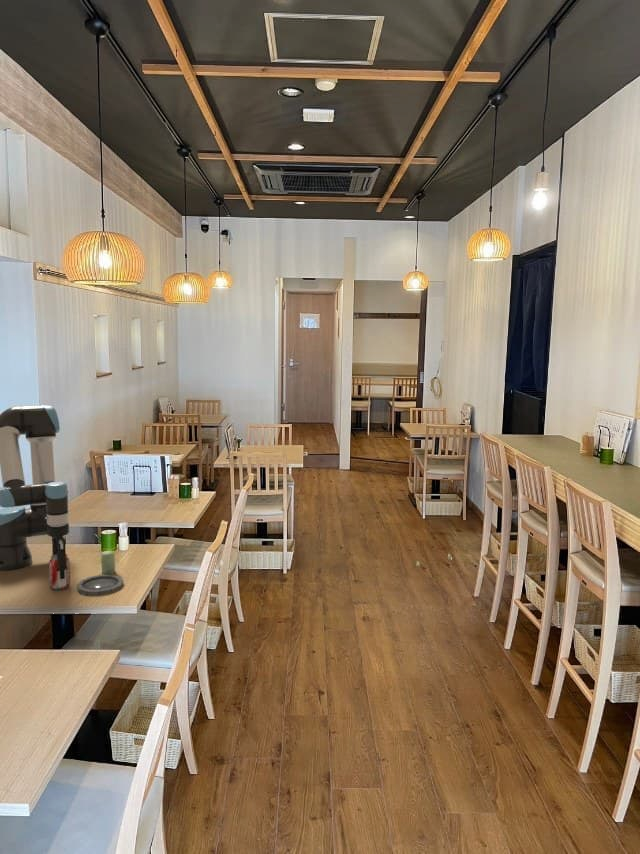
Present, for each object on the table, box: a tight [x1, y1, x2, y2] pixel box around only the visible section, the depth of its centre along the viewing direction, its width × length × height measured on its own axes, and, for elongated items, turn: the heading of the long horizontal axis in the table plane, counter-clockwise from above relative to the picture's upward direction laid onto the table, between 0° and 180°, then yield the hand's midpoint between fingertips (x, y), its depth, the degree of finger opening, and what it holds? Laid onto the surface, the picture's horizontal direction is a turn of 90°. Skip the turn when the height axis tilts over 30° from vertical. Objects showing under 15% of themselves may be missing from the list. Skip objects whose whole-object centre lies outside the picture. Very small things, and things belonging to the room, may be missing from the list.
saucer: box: [76, 574, 124, 596], centre depth 230 cm, size 16×16×1 cm
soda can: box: [48, 553, 71, 590], centre depth 228 cm, size 7×7×12 cm
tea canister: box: [100, 550, 116, 575], centre depth 244 cm, size 5×5×8 cm
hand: (60, 582), depth 229 cm, fingers open, 8 cm apart
